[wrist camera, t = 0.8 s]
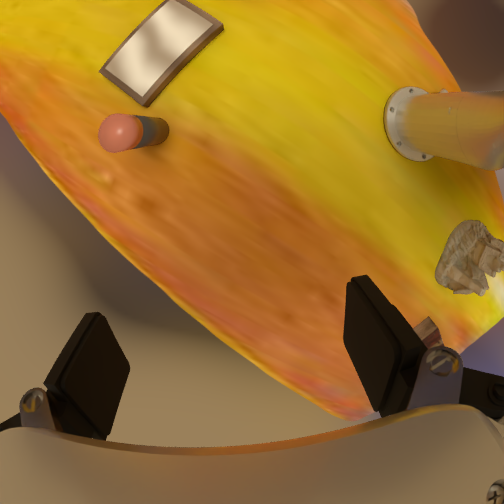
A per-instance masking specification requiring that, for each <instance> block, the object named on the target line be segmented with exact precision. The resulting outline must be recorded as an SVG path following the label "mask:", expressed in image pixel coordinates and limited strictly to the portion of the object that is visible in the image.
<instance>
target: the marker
mask: <svg viewBox="0 0 504 504" xmlns="http://www.w3.org/2000/svg"><path fill="white" fill-rule="evenodd" d="M168 134H169V126H168V124H167V123H166V121H164V120H163V119H160V118H154V117H146V116H137V115H127V114H113V115H110V116H108V117H107V118H106V119H105V120H104V121H103V122H102V124H101V126H100V128H99V133H98V138H99V142H100V144H101V146H102V147H103V148H104V149H105V150H106V151H108V152H112V153H116V152H121V151H126V150H130V149H135V148H140V147H145V146H151V145H157V144H160V143H162V142H164V141H165V140H166V138H167V137H168Z"/></svg>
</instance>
